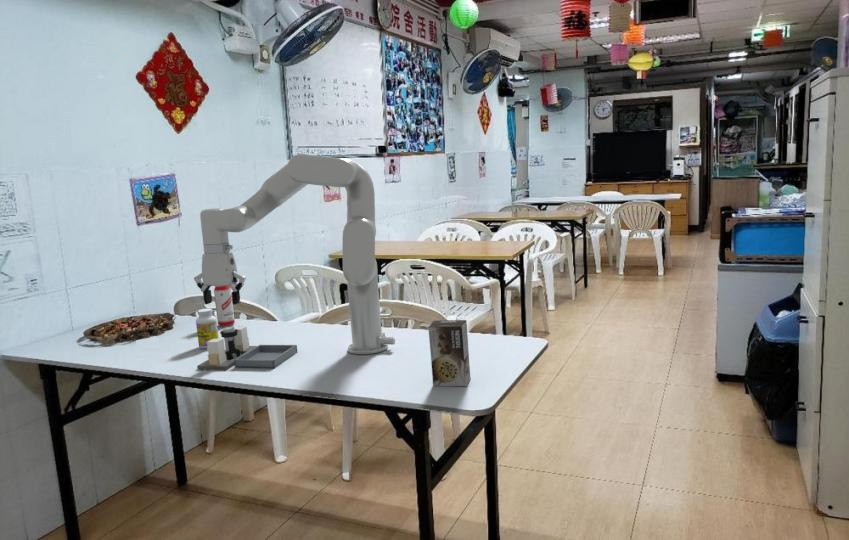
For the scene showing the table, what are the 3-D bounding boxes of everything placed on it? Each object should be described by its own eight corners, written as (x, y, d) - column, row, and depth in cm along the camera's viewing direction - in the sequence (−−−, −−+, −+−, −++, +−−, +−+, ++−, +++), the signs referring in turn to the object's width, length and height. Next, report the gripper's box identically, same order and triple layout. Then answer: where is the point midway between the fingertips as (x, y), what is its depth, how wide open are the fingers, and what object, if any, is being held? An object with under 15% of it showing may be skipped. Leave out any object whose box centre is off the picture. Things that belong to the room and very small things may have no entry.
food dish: (136, 349, 231) (132, 328, 229) (64, 348, 241) (59, 328, 240) (198, 321, 263) (195, 302, 262) (132, 321, 274) (128, 303, 272)
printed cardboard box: (471, 378, 172) (467, 319, 170) (466, 387, 166) (462, 325, 164) (437, 378, 175) (433, 319, 172) (431, 386, 169) (427, 326, 166)
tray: (297, 352, 208) (296, 344, 208) (274, 368, 193) (273, 360, 193) (260, 352, 211) (259, 344, 211) (235, 368, 196) (234, 360, 196)
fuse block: (260, 349, 215) (258, 325, 213) (227, 370, 195) (223, 343, 193) (233, 349, 217) (230, 325, 216) (197, 369, 197) (194, 343, 196)
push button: (226, 363, 202) (223, 332, 200) (216, 361, 205) (212, 330, 203) (244, 357, 207) (240, 326, 205) (234, 355, 210) (230, 325, 208)
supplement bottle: (194, 348, 221) (190, 311, 219) (208, 343, 227) (204, 307, 225) (209, 349, 218) (205, 312, 216) (223, 344, 224) (219, 308, 222)
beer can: (238, 324, 253) (233, 283, 250) (225, 328, 248) (220, 286, 245) (227, 322, 256) (222, 282, 254) (214, 326, 251) (209, 286, 248)
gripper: (248, 246, 202) (253, 301, 204) (198, 247, 206) (204, 300, 209) (235, 250, 194) (241, 306, 197) (184, 251, 199) (190, 306, 201)
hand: (222, 303), depth 203 cm, fingers open, 9 cm apart
